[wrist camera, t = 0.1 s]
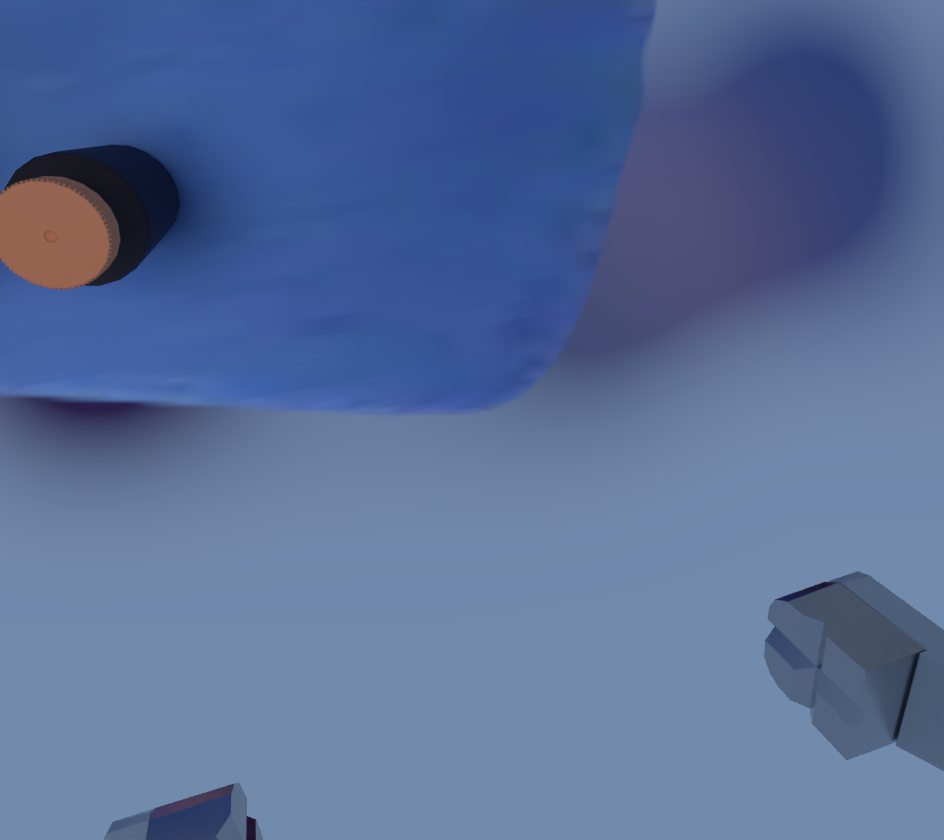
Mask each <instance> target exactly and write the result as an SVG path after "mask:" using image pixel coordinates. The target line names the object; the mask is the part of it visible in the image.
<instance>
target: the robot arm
mask: <svg viewBox="0 0 944 840" xmlns="http://www.w3.org/2000/svg"><path fill="white" fill-rule="evenodd" d="M768 619H769V621H770V622H771V623H772V624H773V625H774V626H775V627H774V628H773V630H772V631H771V633H770V634H769V636H768V637H767V639H766V640H765V655H764V657H765V660H766V663H767V665H768V668H769V671H770V674H771V676H772V677H773V678H774V680H775V682H776V684H777V685H778V687H779V688H780V689H781V690H782V691H783V692H784V693H785V694H786V695H787V697H788V698H789V699H790V700H792V701H794V702H797V703H799V704H801V705H804V706H806V707H808V708H810V714H811V719H812V724H813V725H814V726H815V727H816V728H817V729H818V730H819V731H820V732H821V733H822V734H823V735H824V736H825V738H826V739H827V740H828V741H829V742H830V743H831V744H832V745H833V746H834V747H835V748H836V749H837V750H838V752H839V753H840V754H841V755H842V756H843V757H844V758H845V759H846V760H849V759H851V758H854V757H857V756H859V755H862V754H865V753H868V752H870V751H873V750H875V749H878V748H881V747H884V746H886V745H889V744H892V743H894V742H897V743H896V746H898V747H900V748H901V749H903V750H905V751H907V752H909V753H911V754H913V755H915V756H917V757H918V758H920V759H922V760H924V761H926V762H928V763H930V764H932V765H933V766H935V767H937V768H939V769H941V770H943V771H944V630H943V629H942V628H940V627H939V626H937V625H936V624H935V623H933V622H932V621H931V620H929V619H928V618H927V617H925V616H924V615H922V614H921V613H920V612H918V611H917V610H916V609H914V608H913V607H911V606H910V605H909V604H907V603H906V602H905V601H903V600H902V599H900V598H899V597H898V596H896V595H895V594H894V593H892V592H891V591H890V590H888V589H887V588H885V587H884V586H883V585H881V584H880V583H879V582H877V581H876V580H874V579H873V578H872V577H870V576H869V575H867V574H863V573H860V572H855V573H852V574H849V575H846V576H843V577H840V578H837V579H834V580H831V581H829V582H823V583H820V584H817V585H814V586H812V587H809V588H806V589H803V590H801V591H798V592H795V593H792V594H789V595H786V596H784V597H781V598H778V599H775V600H774V602H773V603H772V604H771V605H770V608H769V614H768ZM246 810H247V798H246V796H245V794H244V792H243V790H242V788H241V786H240V784H239V783H235V784H232V785H228V786H225V787H222V788H219V789H215V790H212V791H209V792H206V793H202V794H199V795H196V796H193V797H189V798H186V799H183V800H180V801H177V802H173V803H170V804H167V805H164V806H160V807H158V808H154V809H151V810H148V811H145V812H142V813H139V814H136V815H133V816H130V817H127V818H124V819H121V820H118V821H114V822H112V824H111V826H110V828H109V830H108V832H107V834H106V836H105V838H104V840H263V838H262V835H261V831H260V829H259V826H258V823H257V821H256V819H253V818H251V817H248V816H246V815H247V811H246Z"/></svg>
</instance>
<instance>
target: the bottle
mask: <svg viewBox="0 0 944 840" xmlns="http://www.w3.org/2000/svg"><path fill="white" fill-rule="evenodd" d="M2 191H3V193H0V258H1V260H2V262H4V263H5V264H6V265H5V266H9V267H10V269H9V270H11V269H12V270H13V271H14V273H16V274H18V277H19V276H21V277H23V280H24V279H27V280H28V282H32V283H33V285H34V284H38V286H40V285H42V286H43V288H45V287H48V288H49V289H50V288H54V290H55V289H56V288H59V290H61V289H62V288H64V290H66V289H67V288H69V289H71V288H72V287H74V289H75V288H76V287H77V286H78V287H81V286H100V285H104V284H107V283H111V282H114V281H118V280H120V279H122V278H123V277H125V276H126V275H128V274H129V273H130V272H132V271H133V270H135V269H136V268H137V267H138V266H139V264H140V263H141V262H142V261H143V260H144V259H145V258H146V256H147V255H148V254H149V253H150V252H151V251H152V249H153V248H154V247H155V246H156V245H157V244H158V242H159V241H160V240H161V239H162V238H163V237H164V236H165V234H166V233H167V232H168V231H169V229H170V228H171V226H172V225H173V223H174V222H175V220H176V216H177V212H178V208H179V202H178V192H177V189H176V186H175V184H174V182H173V179H172V177H171V175H170V174H169V173H168V172H167V170H166V169H165V168H164V167H163V165H162V164H161V163H160V162H159V161H157V160H156V159H155V158H153V157H152V156H150V155H149V154H148V153H146V152H144V151H141V150H139V149H136V148H133V147H130V146H122V145H107V146H99V147H91V148H83V149H75V150H67V151H59V152H53V153H50V154H46V155H42V156H38V157H34V158H33V159H31V160H30V161H28V162H27V163H26V164H24V165H23V166H21V167H20V168H19V169H17V170H16V171H15V173H14V174H13V176H12V178H11V179H10V181H9V182H8V184H7V185H6V187H5V190H2Z"/></svg>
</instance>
